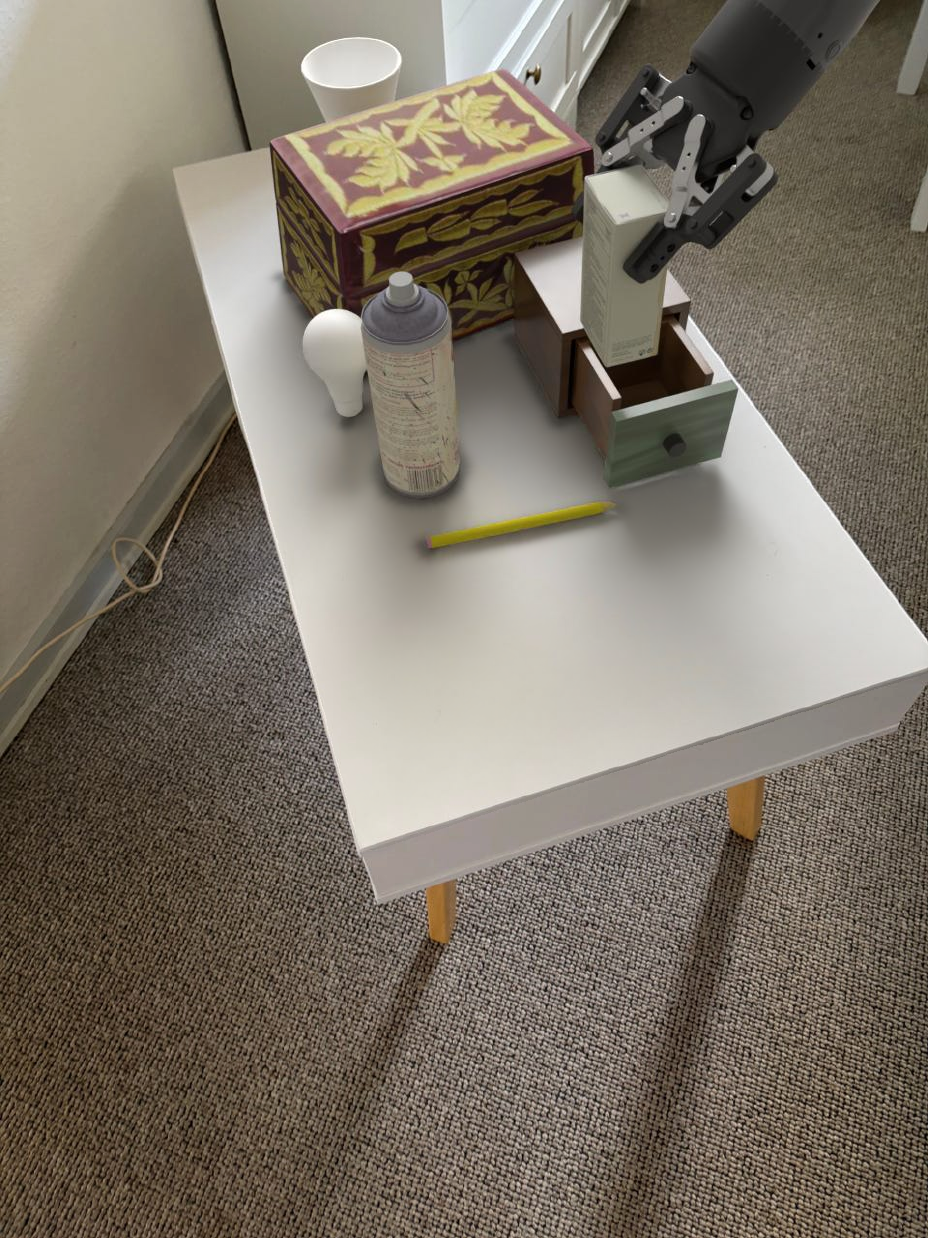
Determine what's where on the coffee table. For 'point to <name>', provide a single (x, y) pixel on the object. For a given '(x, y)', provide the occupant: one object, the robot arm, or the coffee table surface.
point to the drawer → (652, 407)
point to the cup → (352, 75)
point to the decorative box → (428, 197)
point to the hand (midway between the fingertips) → (605, 248)
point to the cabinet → (561, 315)
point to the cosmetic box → (620, 265)
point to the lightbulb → (338, 357)
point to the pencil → (517, 524)
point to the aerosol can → (412, 387)
